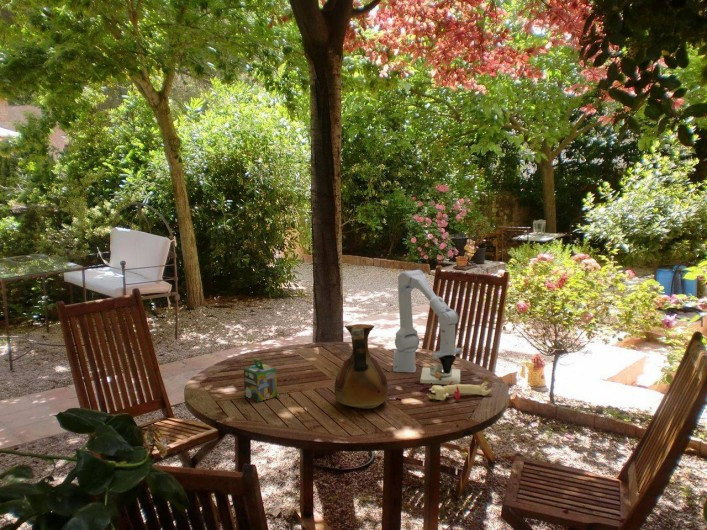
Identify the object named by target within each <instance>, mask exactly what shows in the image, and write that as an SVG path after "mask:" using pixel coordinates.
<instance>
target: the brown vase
mask: <svg viewBox="0 0 707 530" xmlns="http://www.w3.org/2000/svg"><path fill="white" fill-rule="evenodd" d="M344 327H345V328H346V330H347V331H348V333H349V334H350V336H351V345H352V346H351V347H352V350H351V351H352V352H351V355H350V357H348V358H347V359H346V360H345V361H344V362H343V363H342V365H341V366H340V367H339V369H338V371H337V373H336V378H335V381H334V396H335V400H336V401H337V402H338V403H341V404H342V405H344V406H348V407H353V408H361V409H374V408H377V407H379V406H380V405H382V404H383V403H384V402H385V401H386V399H387V397H388V392H389V385H388V380H387V375H386V373H385V370H384V368H383V367H382V365H381V364H380V362H379V361H378V360H377V359H376V358H375V357H373V356H372V355H371V353H370V351H369V346H368V345H369V344H368V343H369V335H370V333H371V331H372V330H373V329H374V328H375V325H374V324H364V323H357V324H350V325H345V326H344Z"/></svg>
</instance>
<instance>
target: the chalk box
mask: <svg viewBox="0 0 707 530" xmlns="http://www.w3.org/2000/svg"><path fill="white" fill-rule="evenodd" d="M253 362H254V365H250V366H247V367H244V368H243V382H244V383H243V386H244V397H245V396H246V398H247V397H248V398H247V399H249V398H250V399H249V400H252V401H254V400H255V401H254V402H256V401H257V403H260V402H259V401H261V402H264V401H267V400H269V399H272V398H276V397H278V388H277V386H278V385H277V367H275V366H272V365H269V364H265V363H262V361H261V360H260V359H259V360H258V359H256V358H254V359H253ZM266 399H267V400H266ZM263 400H264V401H263Z"/></svg>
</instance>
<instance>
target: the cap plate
mask: <svg viewBox="0 0 707 530" xmlns="http://www.w3.org/2000/svg"><path fill="white" fill-rule="evenodd" d="M419 382H420V384H431V383H432V384H433V385H448V384H449V383H450V382H453V383H452V384H451V385H454V384H461V369H457V368H452V375H451V376H448V377H441V378H440V379H437V378H435V376H433V375H431V374H430V367H425V366H423V367H422V370H421V375H420V381H419Z"/></svg>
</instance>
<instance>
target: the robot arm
mask: <svg viewBox="0 0 707 530" xmlns="http://www.w3.org/2000/svg"><path fill="white" fill-rule="evenodd" d="M397 281H398V282H397V291H398V292H397V294H398V296H397V297H398V309H399V310H398V311H399V325H400V326H399V327H400V328H399V329H398V330H397V331H396V333H395V339H394V345H395V348H396V349H395V348H394V351H393V362H392V367H393V368H392V369H393V370H392V371H393V372H396V373H397V372H398V373H416V370H417V366H416V351H417V350H418V348H417V347H419V345H420V337H419V334H418V330H417V329H416V328H414V322H413V321H414V320H413V308H412V307H413V306H412V305H413V304H412V291H413V290H414V289H418V290H419V291H420V292H421V293H422V295H424V297H426V299H427V300H428V301H429V303H428V304H429V307H430V308H431V310H432V311H433V312H434V314H435V315H436V316H437V322H438V323H439V329H440V343H439V344H440V345H439V347H440V349H439V350H437V351H435V352H433V353H432V354H431V355H432V357H431V358H432V359H434V360H437V359H439V362H440V363H441V365H442V366H443V370H444V373H446V374H449V373H450V370H451V368H452V367H453V364H454V363H455V360H456V359H457V358H456V357H457V356H456V354H459V355H460V354H463V349H462V348H461V347H455V345H456V344H455V343H456V324H458V322H459V318H460V317H459V314H458V313H457V311H456V310H455V309H452V308H450V306H448V305H447V303H446V302H445V301H444V299H443V297H441V296H440V295H439V296H438V295H436V294H435V292H434V290H433V289H432V288H431V285H430V284H429V283H428V281H427V276H426V274H424V271H423V270H421V269H415V270H414V269H413V270H407V271H406V270H404V271H401V272H400V273H399V275H398V276H397ZM416 349H417V350H416ZM415 350H416V351H415Z"/></svg>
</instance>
